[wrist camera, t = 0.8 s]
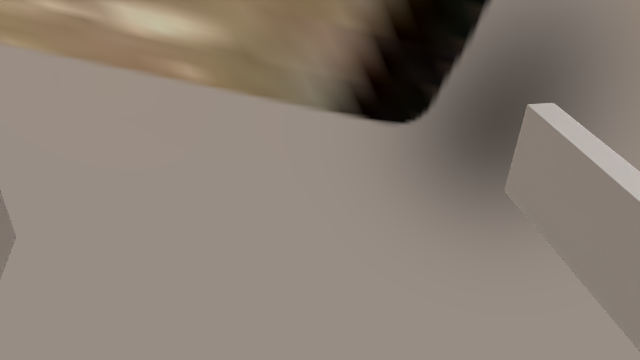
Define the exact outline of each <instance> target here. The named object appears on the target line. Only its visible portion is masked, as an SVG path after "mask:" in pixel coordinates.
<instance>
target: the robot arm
mask: <svg viewBox="0 0 640 360" xmlns="http://www.w3.org/2000/svg"><path fill="white" fill-rule="evenodd" d="M505 192H506V193H507V194H508V195H509V196H510V198H511V199H512V200H513V201H514V203H515V204H516V205H517V206H518V207H519V209H520V210H521V211H522V212H523V213H524V215H525V216H526V217H527V218H528V219H529V220H530V222H531V223H532V224H533V225H534V226H535V227H536V229H537V230H538V231H539V232H540V234H541V235H542V236H543V237H544V238H545V239H546V241H547V242H548V243H549V244H550V245H551V247H552V248H553V249H554V250H555V251H556V253H557V254H558V255H559V256H560V257H561V258H562V260H563V261H564V262H565V263H566V264H567V266H568V267H569V268H570V269H571V270H572V272H573V273H574V274H575V275H576V276H577V278H578V279H579V280H580V281H581V282H582V284H583V285H584V286H585V287H586V288H587V289H588V291H589V292H590V293H591V294H592V295H593V297H594V298H595V299H596V300H597V301H598V303H599V304H600V305H601V306H602V307H603V309H604V310H605V311H606V312H607V313H608V314H609V316H610V317H611V318H612V319H613V320H614V322H615V323H616V324H617V325H618V326H619V328H620V329H621V330H622V331H623V332H624V334H625V335H626V336H627V337H628V338H629V339H630V341H631V342H632V343H633V344H634V345H635V347H636V348H637V349H638V350H639V351H640V172H639V171H638V170H637V169H635V168H634V167H633V166H632V165H631V164H629V163H628V162H627V161H626V160H624V159H623V158H622V157H621V156H619V155H618V154H617V153H616V152H614V151H613V150H612V149H611V148H609V147H608V146H607V145H606V144H604V143H603V142H602V141H601V140H599V139H598V138H597V137H596V136H594V135H593V134H592V133H591V132H589V131H588V130H587V129H586V128H584V127H583V126H582V125H581V124H579V123H578V122H577V121H575V120H574V119H573V118H572V117H571V116H569V115H568V114H567V113H566V112H564V111H563V110H562V109H560V108H559V107H558V106H557V105H556V104H554V103H544V104H529V105H527V108H526V112H525V115H524V119H523V123H522V127H521V130H520V134H519V138H518V142H517V146H516V149H515V153H514V157H513V160H512V165H511V168H510V172H509V175H508V179H507V183H506V186H505ZM15 239H16V235H15V232H14V229H13V226H12V223H11V220H10V217H9V215H8V212H7V209H6V206H5V203H4V200H3V197H2V194H1V191H0V278H1V276H2V273H3V270H4V268H5V265H6V262H7V260H8V257H9V254H10V252H11V249H12V247H13V244H14V241H15Z"/></svg>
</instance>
